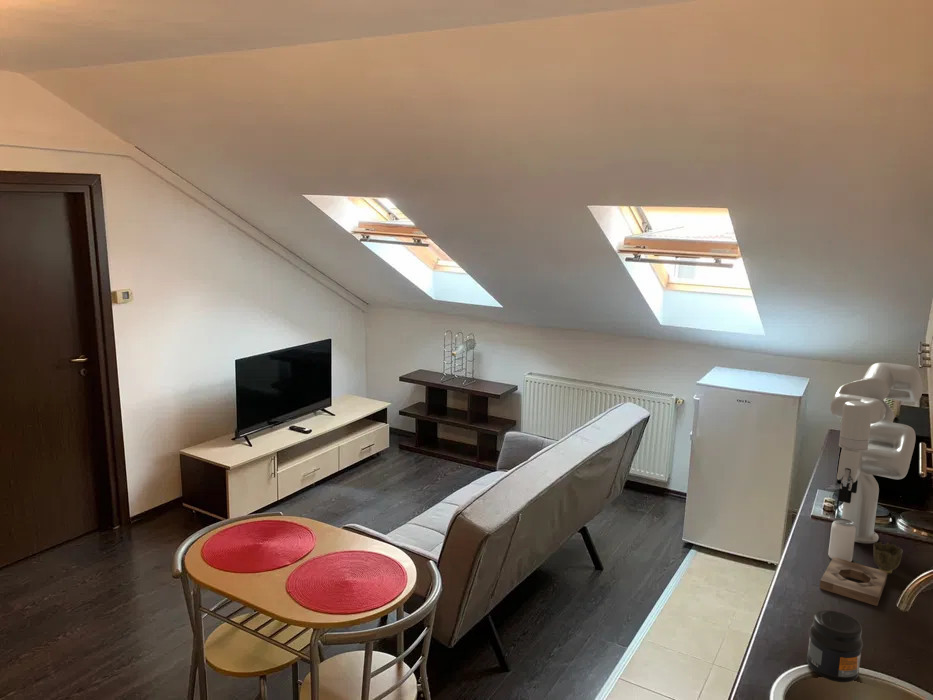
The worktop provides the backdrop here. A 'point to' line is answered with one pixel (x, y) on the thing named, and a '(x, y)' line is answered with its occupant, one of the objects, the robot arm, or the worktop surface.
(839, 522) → the can
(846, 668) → the supplement container
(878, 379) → the robot arm
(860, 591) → the hole plate
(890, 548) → the cup
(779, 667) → the worktop surface
